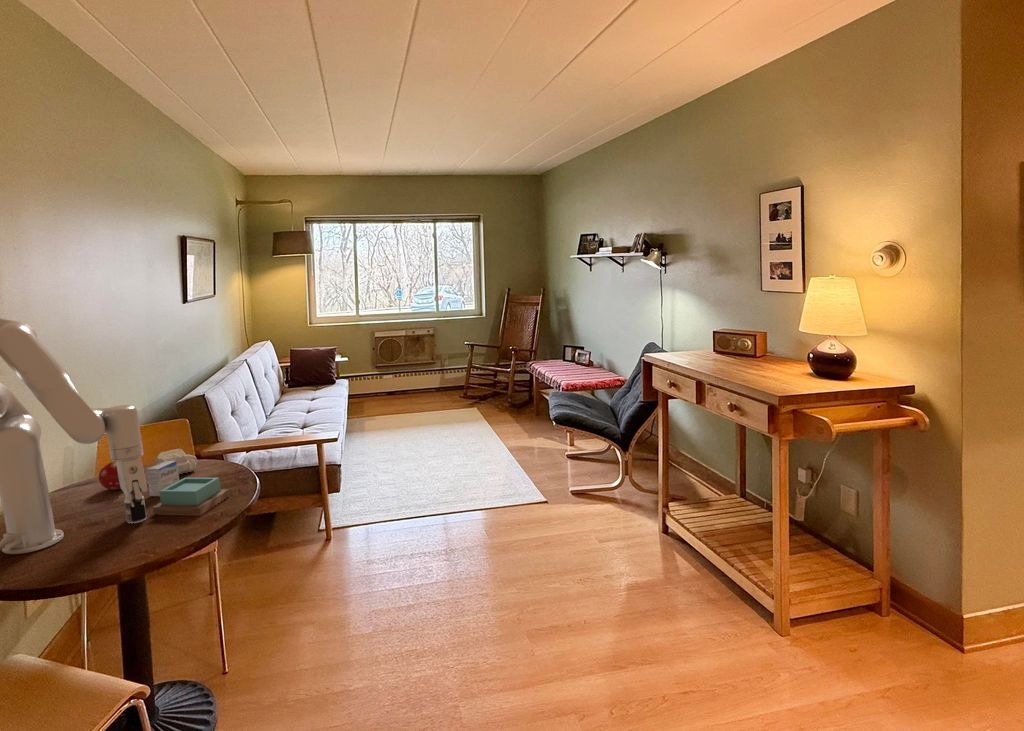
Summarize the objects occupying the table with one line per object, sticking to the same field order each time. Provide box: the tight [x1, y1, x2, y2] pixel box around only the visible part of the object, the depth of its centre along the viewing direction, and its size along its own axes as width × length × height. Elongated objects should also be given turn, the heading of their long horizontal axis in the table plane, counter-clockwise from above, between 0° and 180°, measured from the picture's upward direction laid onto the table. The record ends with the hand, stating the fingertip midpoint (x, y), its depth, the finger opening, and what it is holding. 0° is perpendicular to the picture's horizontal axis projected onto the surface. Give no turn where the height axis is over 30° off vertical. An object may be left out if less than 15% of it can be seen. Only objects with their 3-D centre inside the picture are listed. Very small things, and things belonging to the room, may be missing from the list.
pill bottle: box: [123, 490, 148, 524], centre depth 174 cm, size 5×5×8 cm
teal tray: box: [159, 477, 222, 505], centre depth 183 cm, size 11×11×4 cm
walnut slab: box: [152, 488, 231, 517], centre depth 183 cm, size 14×14×3 cm
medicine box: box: [145, 461, 180, 497], centre depth 195 cm, size 8×4×9 cm, turn 168°
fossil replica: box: [154, 448, 198, 476], centre depth 212 cm, size 12×8×10 cm
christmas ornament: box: [98, 460, 121, 491], centre depth 200 cm, size 9×9×10 cm
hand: (136, 516), depth 174 cm, fingers closed on pill bottle, 4 cm apart
